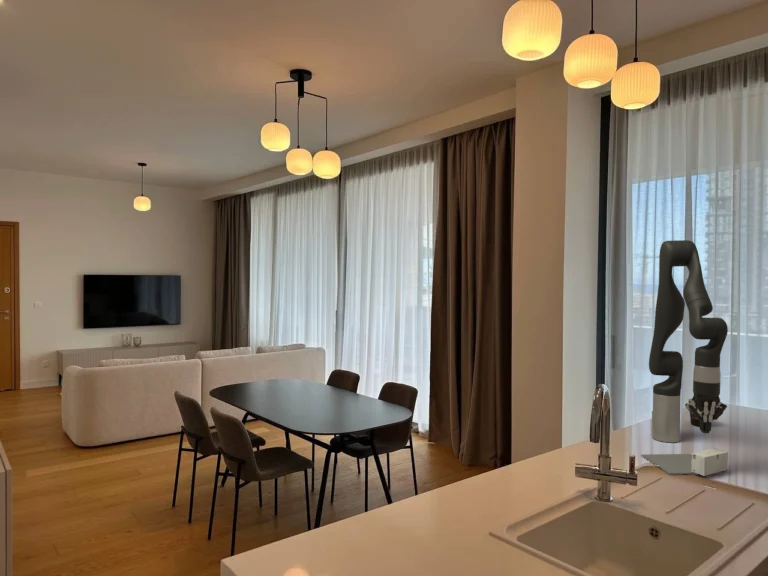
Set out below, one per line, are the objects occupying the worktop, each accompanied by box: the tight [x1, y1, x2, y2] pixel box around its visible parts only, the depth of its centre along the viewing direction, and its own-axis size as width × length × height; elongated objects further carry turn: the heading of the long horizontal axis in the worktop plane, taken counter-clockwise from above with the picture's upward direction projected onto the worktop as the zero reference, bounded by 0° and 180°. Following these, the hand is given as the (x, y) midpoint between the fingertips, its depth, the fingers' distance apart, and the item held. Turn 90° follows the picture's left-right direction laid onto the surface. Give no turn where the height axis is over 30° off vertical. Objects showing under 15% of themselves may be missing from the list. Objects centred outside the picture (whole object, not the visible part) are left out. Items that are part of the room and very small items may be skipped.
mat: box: [640, 453, 723, 476], centre depth 178 cm, size 17×17×1 cm
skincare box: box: [691, 447, 729, 477], centre depth 170 cm, size 6×4×12 cm
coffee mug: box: [688, 398, 724, 428], centre depth 221 cm, size 12×9×10 cm
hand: (705, 432), depth 175 cm, fingers closed
